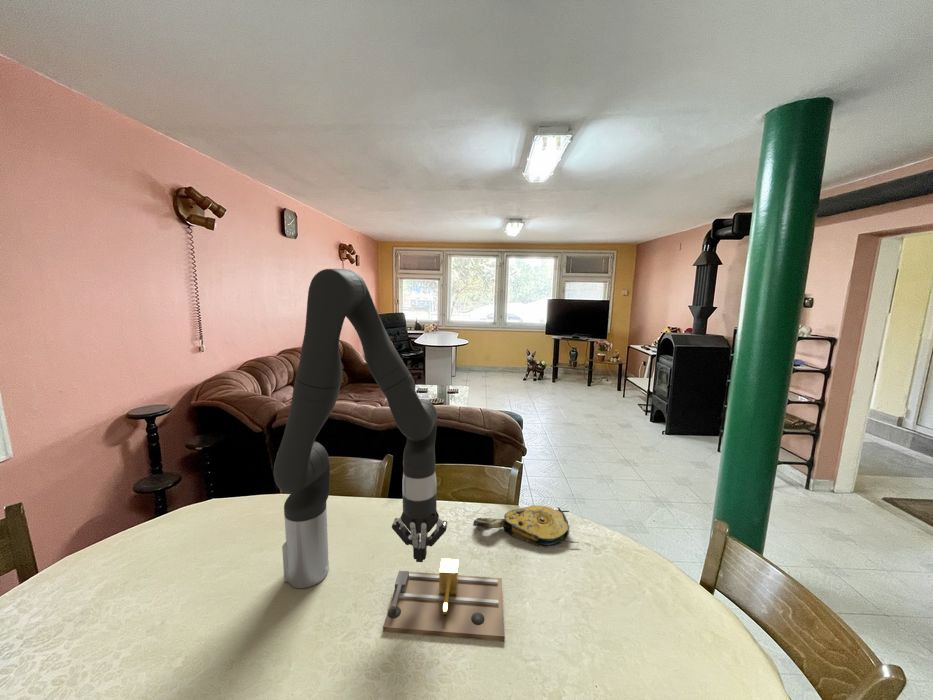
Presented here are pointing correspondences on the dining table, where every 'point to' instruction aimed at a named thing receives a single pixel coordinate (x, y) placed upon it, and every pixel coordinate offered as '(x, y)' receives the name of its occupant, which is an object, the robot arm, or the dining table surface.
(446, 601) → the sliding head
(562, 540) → the pulley block
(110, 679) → the dining table surface
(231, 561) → the dining table surface
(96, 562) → the dining table surface
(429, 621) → the gauge board
